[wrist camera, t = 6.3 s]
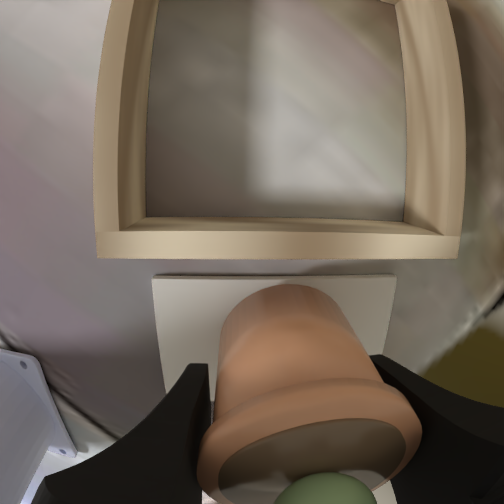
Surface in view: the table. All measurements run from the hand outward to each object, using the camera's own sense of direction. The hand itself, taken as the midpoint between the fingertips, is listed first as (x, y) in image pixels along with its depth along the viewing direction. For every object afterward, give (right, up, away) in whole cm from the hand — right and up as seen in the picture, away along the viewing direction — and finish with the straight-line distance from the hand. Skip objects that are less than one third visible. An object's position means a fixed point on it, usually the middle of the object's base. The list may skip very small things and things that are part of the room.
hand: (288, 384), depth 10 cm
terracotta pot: (0, +1, +2) cm, 2 cm away
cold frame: (0, +11, 0) cm, 11 cm away
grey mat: (0, +1, +3) cm, 3 cm away
